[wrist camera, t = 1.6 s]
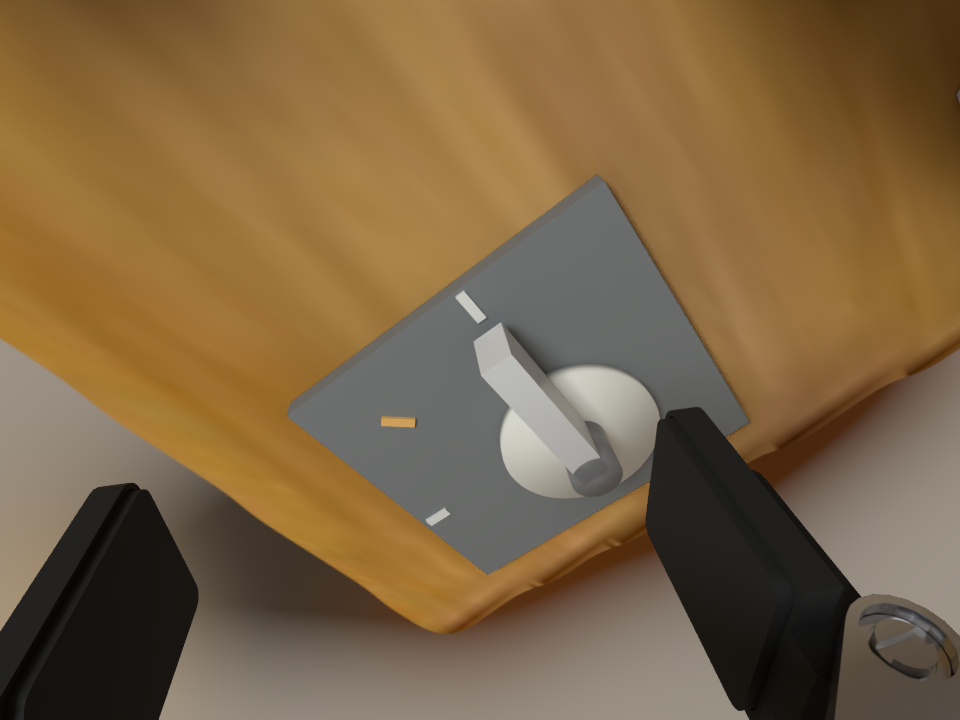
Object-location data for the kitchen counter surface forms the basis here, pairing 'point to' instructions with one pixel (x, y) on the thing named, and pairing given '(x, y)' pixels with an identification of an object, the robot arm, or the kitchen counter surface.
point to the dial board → (478, 407)
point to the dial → (567, 420)
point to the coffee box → (958, 95)
